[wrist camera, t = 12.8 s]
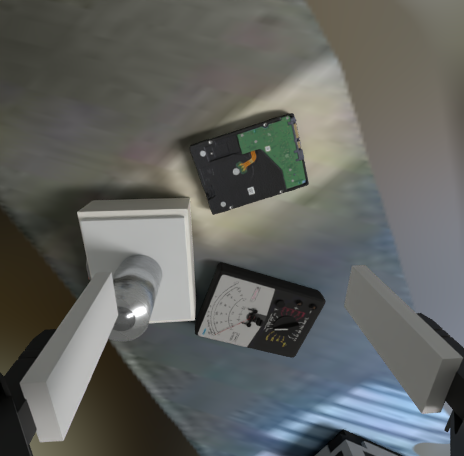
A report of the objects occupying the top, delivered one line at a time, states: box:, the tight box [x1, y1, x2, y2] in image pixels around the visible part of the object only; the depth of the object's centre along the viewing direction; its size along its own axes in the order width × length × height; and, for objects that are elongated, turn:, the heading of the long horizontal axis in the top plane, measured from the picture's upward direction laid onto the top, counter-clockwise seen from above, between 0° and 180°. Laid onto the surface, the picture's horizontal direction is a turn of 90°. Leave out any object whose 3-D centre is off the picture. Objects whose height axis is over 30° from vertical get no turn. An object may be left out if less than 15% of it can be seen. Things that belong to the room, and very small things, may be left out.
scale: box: [77, 198, 196, 323], centre depth 42 cm, size 18×15×6 cm
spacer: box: [108, 255, 162, 341], centre depth 35 cm, size 6×6×10 cm
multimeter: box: [195, 263, 325, 357], centre depth 49 cm, size 13×19×5 cm
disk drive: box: [190, 113, 309, 215], centre depth 41 cm, size 10×3×15 cm
